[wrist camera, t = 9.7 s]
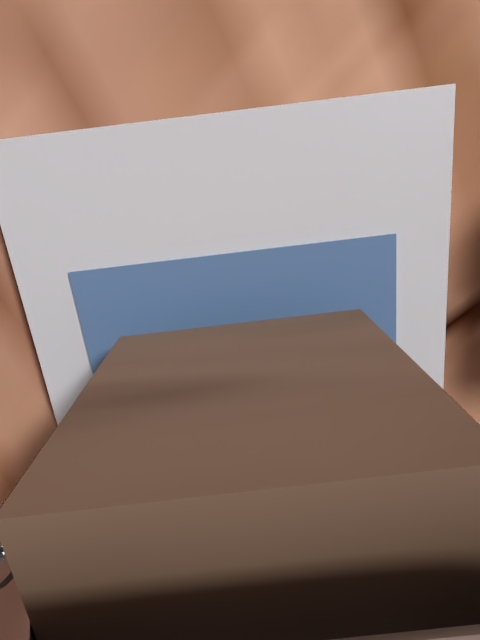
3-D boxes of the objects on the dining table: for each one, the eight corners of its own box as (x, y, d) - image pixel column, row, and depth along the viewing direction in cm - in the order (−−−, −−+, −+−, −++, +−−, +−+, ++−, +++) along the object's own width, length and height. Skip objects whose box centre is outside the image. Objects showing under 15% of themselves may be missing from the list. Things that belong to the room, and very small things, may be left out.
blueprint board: (426, 555, 16) (437, 575, 15) (115, 589, 16) (109, 611, 16) (440, 90, 11) (457, 82, 10) (-7, 144, 11) (-26, 142, 11)
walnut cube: (365, 504, 12) (482, 782, 7) (161, 527, 12) (104, 822, 7) (360, 308, 10) (517, 461, 5) (120, 336, 11) (-9, 519, 5)
